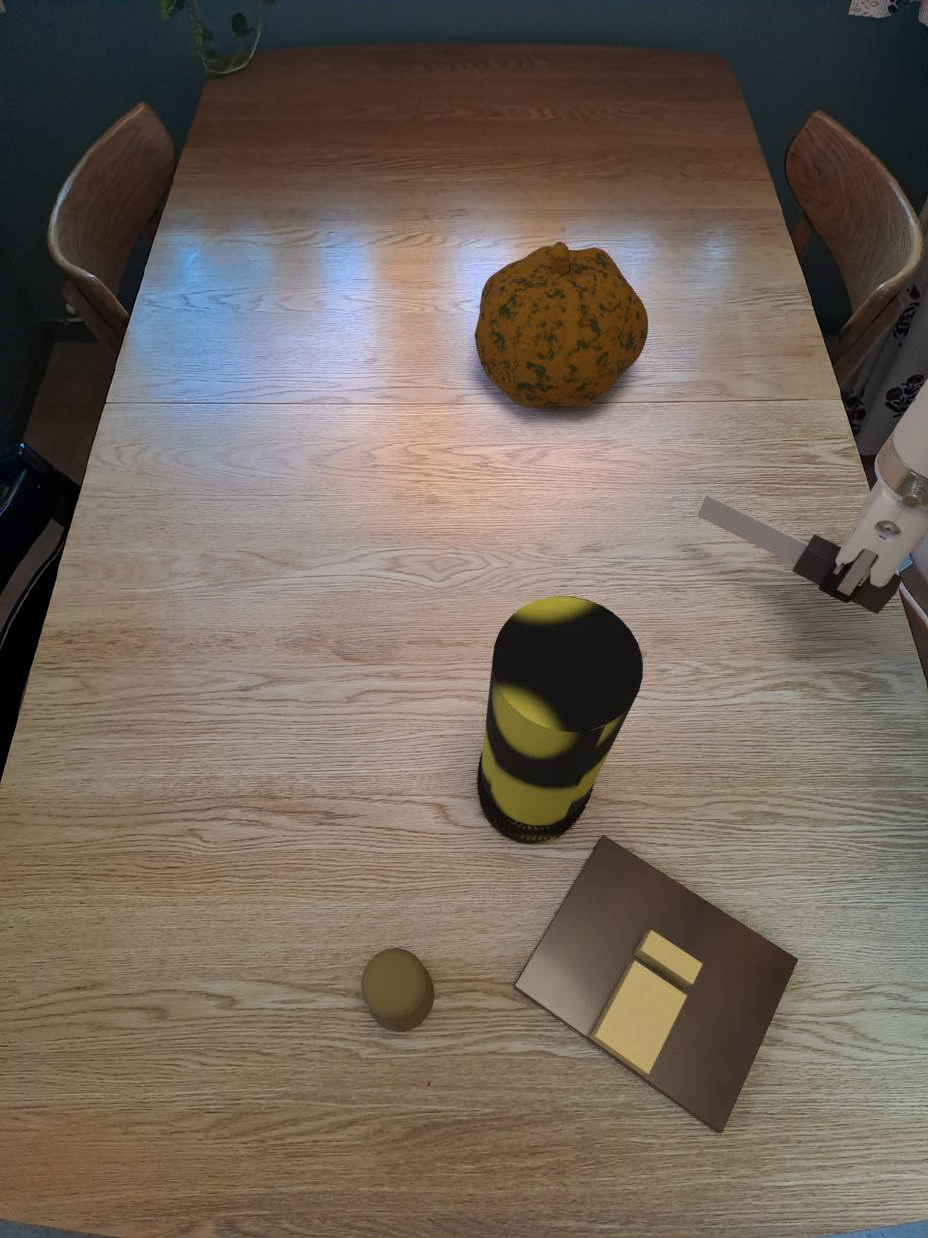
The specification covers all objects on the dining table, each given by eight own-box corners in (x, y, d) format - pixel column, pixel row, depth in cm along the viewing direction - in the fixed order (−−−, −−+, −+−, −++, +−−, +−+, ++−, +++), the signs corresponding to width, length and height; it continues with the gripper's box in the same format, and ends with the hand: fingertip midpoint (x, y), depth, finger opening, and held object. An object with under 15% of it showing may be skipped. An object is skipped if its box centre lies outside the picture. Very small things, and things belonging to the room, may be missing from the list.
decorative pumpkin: (643, 435, 105) (664, 299, 88) (475, 435, 107) (464, 302, 90) (636, 327, 115) (654, 187, 98) (484, 329, 117) (476, 191, 100)
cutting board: (792, 961, 76) (798, 959, 75) (716, 1133, 70) (721, 1134, 68) (600, 838, 81) (602, 834, 80) (512, 987, 75) (514, 986, 73)
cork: (375, 1041, 72) (363, 1035, 63) (359, 969, 75) (346, 952, 66) (442, 1019, 73) (441, 1010, 64) (424, 949, 76) (420, 929, 66)
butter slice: (693, 968, 74) (703, 963, 71) (683, 988, 73) (693, 984, 71) (643, 935, 76) (651, 929, 73) (633, 954, 75) (640, 949, 72)
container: (590, 752, 85) (653, 606, 59) (577, 857, 80) (640, 749, 54) (485, 733, 86) (502, 581, 60) (466, 836, 81) (475, 719, 55)
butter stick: (678, 999, 73) (687, 995, 70) (640, 1075, 70) (648, 1074, 67) (627, 964, 74) (634, 960, 72) (589, 1038, 71) (594, 1036, 69)
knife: (884, 598, 83) (903, 577, 80) (877, 614, 82) (895, 593, 79) (702, 508, 89) (712, 484, 85) (693, 521, 88) (703, 498, 84)
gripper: (943, 552, 64) (845, 661, 80) (1004, 421, 70) (902, 546, 86) (849, 508, 66) (771, 623, 82) (916, 384, 72) (832, 513, 88)
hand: (839, 583), depth 84 cm, fingers closed on knife, 2 cm apart
